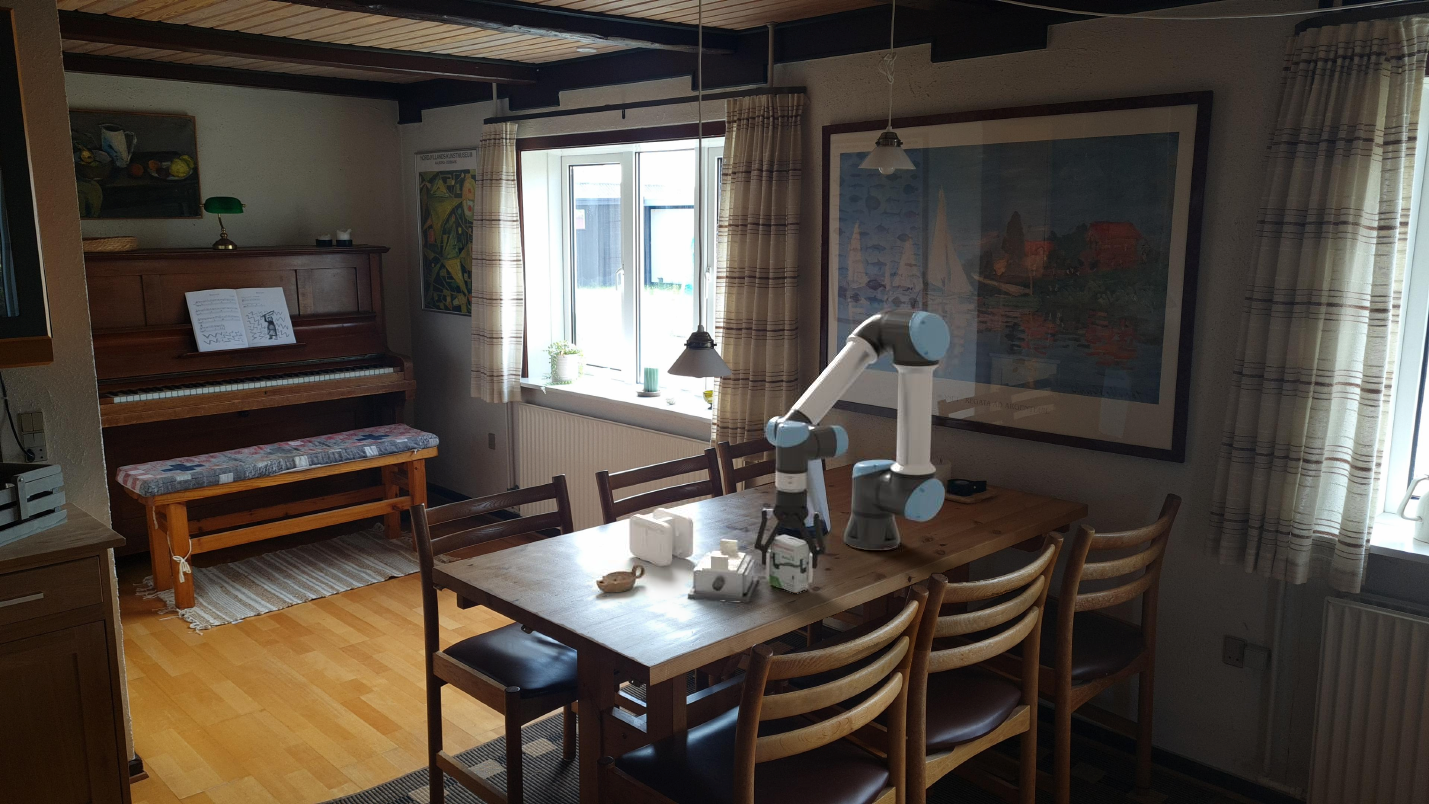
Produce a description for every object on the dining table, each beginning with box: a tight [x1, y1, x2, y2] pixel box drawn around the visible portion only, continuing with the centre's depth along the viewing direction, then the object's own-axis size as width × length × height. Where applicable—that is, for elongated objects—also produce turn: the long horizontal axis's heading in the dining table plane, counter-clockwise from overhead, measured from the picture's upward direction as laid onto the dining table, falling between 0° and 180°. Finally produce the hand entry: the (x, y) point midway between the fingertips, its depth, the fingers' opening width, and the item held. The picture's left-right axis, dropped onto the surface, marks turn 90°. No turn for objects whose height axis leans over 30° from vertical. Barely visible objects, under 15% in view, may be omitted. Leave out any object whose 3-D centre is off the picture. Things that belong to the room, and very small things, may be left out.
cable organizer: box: [628, 507, 694, 567], centre depth 254 cm, size 15×11×12 cm
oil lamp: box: [595, 563, 646, 593], centre depth 233 cm, size 13×8×5 cm, turn 125°
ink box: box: [769, 534, 811, 592], centre depth 234 cm, size 9×5×12 cm, turn 44°
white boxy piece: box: [687, 538, 759, 603], centre depth 233 cm, size 14×16×10 cm
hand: (789, 579), depth 235 cm, fingers closed on ink box, 9 cm apart
